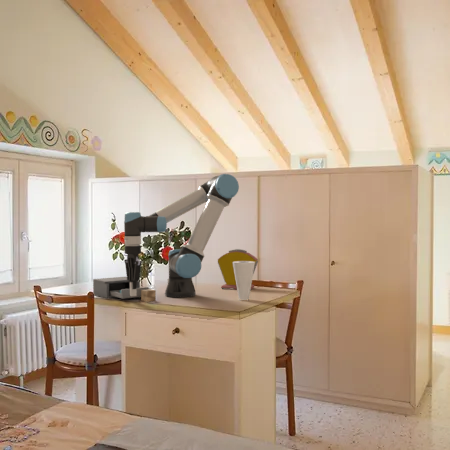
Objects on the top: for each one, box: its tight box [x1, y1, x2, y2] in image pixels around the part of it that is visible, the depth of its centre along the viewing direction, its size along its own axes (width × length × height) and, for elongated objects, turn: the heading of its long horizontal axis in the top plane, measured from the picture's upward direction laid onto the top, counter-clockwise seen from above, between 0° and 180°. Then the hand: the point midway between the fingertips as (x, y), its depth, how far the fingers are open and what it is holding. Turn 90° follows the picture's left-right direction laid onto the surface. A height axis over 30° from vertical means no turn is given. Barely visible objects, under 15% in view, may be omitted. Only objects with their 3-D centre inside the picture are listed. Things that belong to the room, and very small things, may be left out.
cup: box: [233, 261, 255, 301], centre depth 260 cm, size 11×11×18 cm
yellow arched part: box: [217, 248, 258, 290], centre depth 301 cm, size 22×9×22 cm, turn 76°
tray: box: [109, 286, 150, 300], centre depth 268 cm, size 14×15×4 cm
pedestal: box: [140, 288, 157, 303], centre depth 259 cm, size 5×5×5 cm
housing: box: [92, 276, 141, 299], centre depth 279 cm, size 18×16×8 cm
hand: (133, 295), depth 255 cm, fingers closed
